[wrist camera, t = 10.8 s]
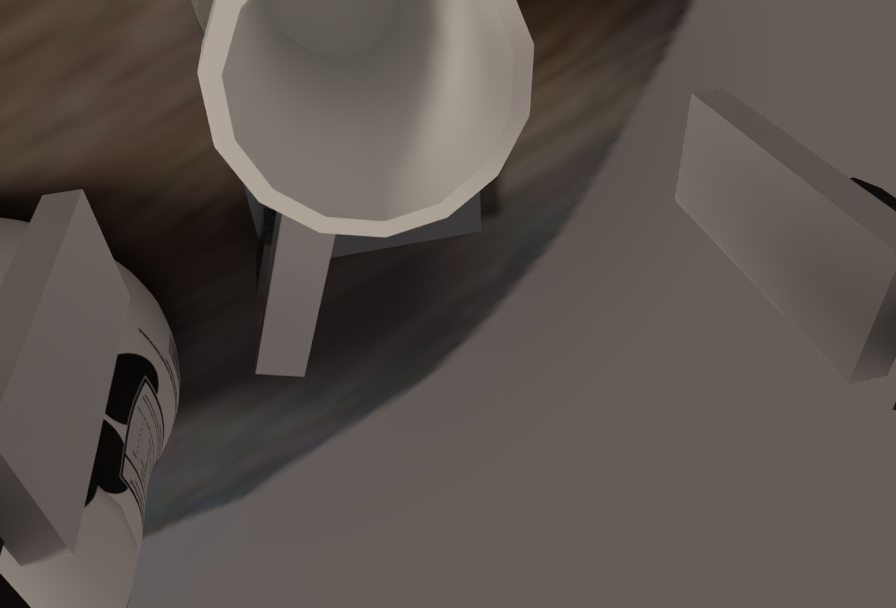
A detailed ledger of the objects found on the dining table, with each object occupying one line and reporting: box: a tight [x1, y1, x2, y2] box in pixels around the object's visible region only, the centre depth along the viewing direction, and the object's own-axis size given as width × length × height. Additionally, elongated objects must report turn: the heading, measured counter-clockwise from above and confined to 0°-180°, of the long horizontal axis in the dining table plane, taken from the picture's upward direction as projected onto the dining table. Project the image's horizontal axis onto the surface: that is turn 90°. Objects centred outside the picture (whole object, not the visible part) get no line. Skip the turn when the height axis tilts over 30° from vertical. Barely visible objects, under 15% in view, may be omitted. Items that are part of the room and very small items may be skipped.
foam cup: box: [197, 0, 534, 237], centre depth 25 cm, size 10×9×13 cm
